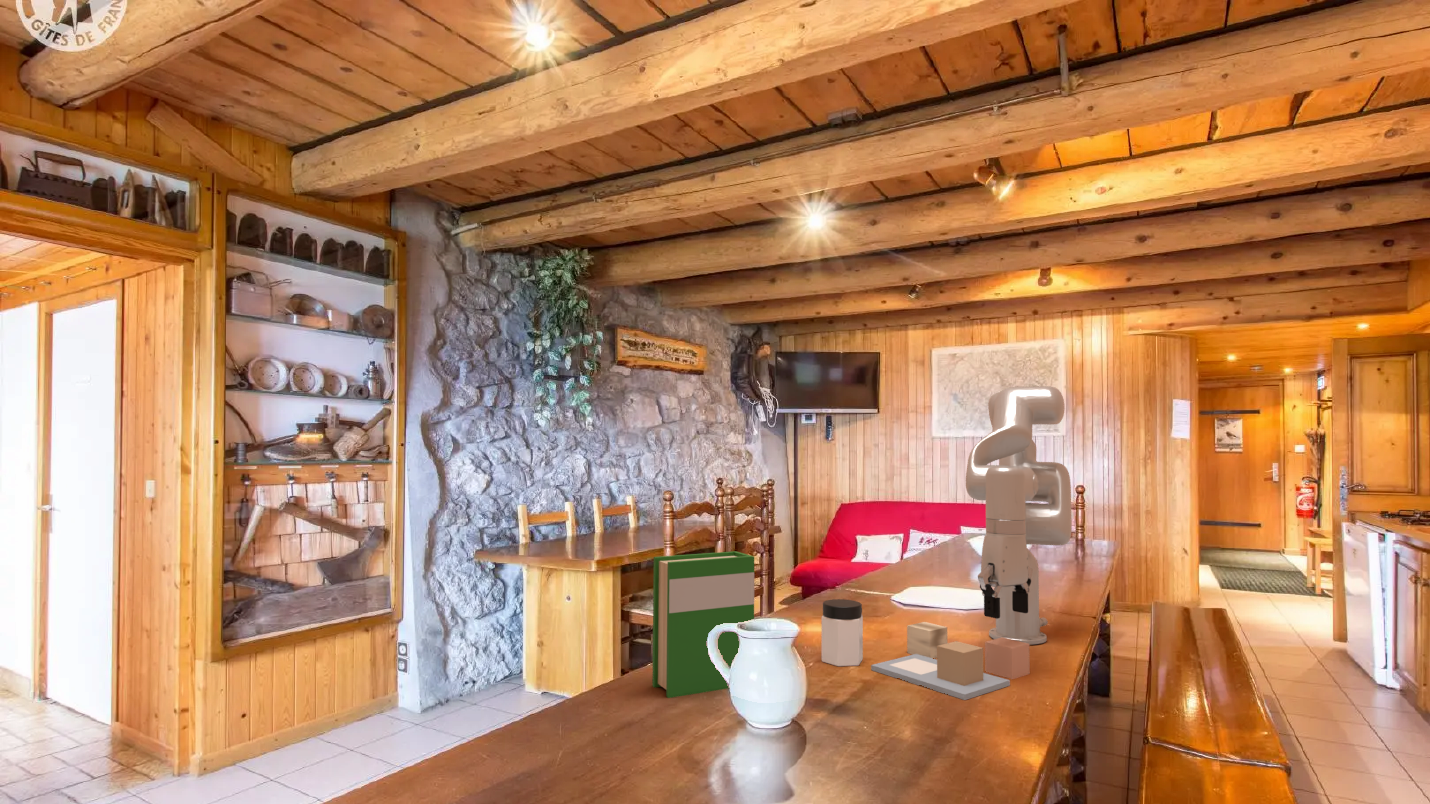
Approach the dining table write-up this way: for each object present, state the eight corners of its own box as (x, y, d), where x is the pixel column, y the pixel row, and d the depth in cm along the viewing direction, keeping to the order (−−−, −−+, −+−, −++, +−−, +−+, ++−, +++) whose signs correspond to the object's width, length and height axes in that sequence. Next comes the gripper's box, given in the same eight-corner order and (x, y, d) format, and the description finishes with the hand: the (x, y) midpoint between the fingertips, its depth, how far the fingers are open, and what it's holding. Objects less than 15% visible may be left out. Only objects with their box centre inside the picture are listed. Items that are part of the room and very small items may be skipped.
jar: (871, 662, 161) (871, 604, 162) (845, 669, 156) (845, 609, 156) (839, 652, 168) (839, 597, 168) (813, 659, 163) (813, 601, 163)
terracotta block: (1002, 666, 158) (1002, 637, 159) (1029, 674, 154) (1029, 643, 154) (985, 672, 155) (985, 641, 155) (1012, 679, 150) (1012, 648, 150)
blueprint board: (916, 658, 164) (916, 625, 164) (1009, 685, 146) (1009, 648, 146) (871, 670, 155) (871, 634, 156) (964, 700, 138) (964, 660, 138)
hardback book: (668, 698, 138) (669, 562, 139) (652, 686, 145) (653, 556, 146) (753, 684, 146) (754, 556, 147) (735, 673, 153) (735, 551, 154)
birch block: (924, 649, 172) (924, 621, 172) (947, 655, 167) (947, 627, 167) (907, 653, 168) (907, 625, 168) (929, 659, 163) (929, 631, 164)
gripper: (1013, 525, 164) (1014, 607, 162) (963, 528, 153) (963, 616, 152) (1046, 528, 158) (1047, 613, 156) (997, 531, 147) (997, 622, 146)
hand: (1006, 614), depth 154 cm, fingers open, 9 cm apart
